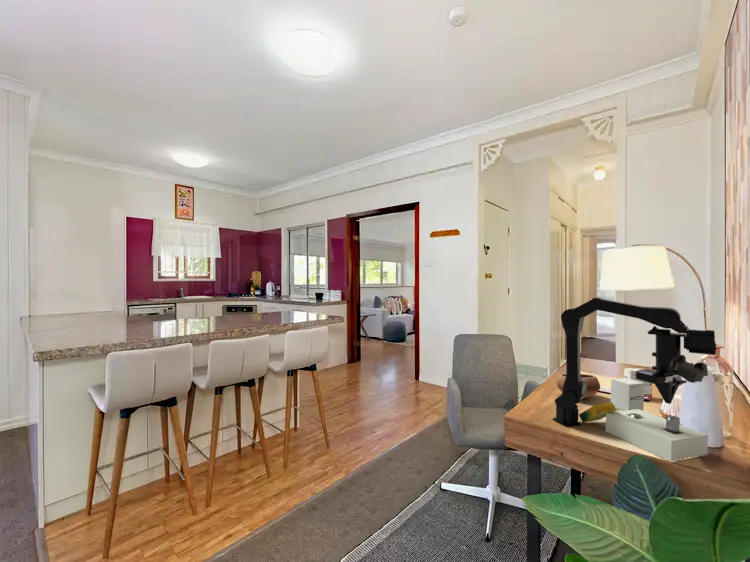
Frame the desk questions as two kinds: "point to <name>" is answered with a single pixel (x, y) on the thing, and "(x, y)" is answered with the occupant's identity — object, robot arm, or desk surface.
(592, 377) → the bowl
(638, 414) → the peg near arm
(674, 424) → the peg far side
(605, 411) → the crayon box
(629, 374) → the ink box
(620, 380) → the supplement box
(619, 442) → the desk surface
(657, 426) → the block
